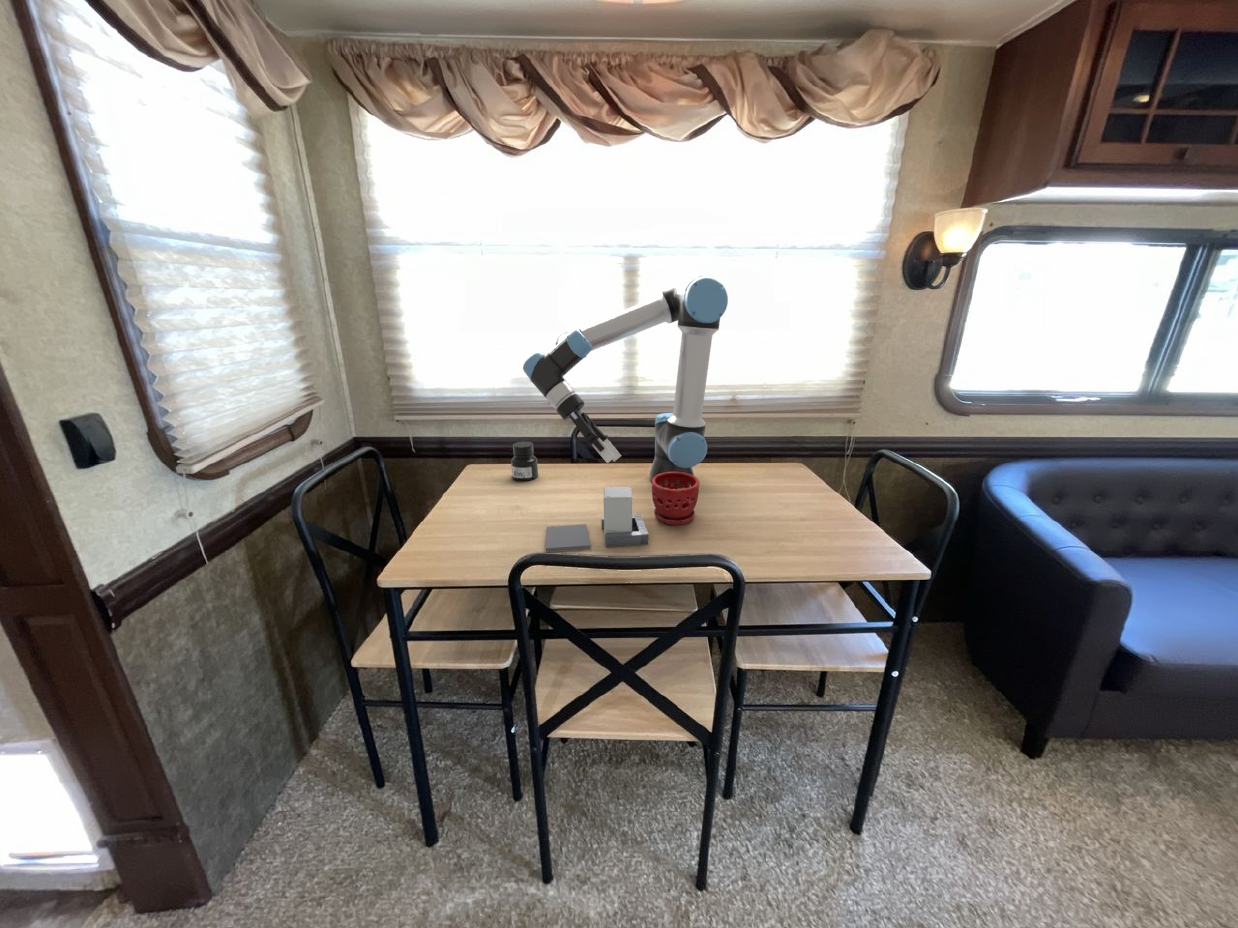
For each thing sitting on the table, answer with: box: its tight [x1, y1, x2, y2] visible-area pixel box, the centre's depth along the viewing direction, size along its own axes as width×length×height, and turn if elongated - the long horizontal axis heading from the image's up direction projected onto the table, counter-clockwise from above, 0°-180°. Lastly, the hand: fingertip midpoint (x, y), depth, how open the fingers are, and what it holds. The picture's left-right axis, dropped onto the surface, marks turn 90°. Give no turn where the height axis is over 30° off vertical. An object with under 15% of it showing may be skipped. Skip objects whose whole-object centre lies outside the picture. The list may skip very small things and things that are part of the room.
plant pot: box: [651, 472, 700, 526], centre depth 138 cm, size 13×13×12 cm
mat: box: [545, 523, 591, 553], centre depth 129 cm, size 11×12×1 cm
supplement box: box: [603, 486, 633, 542], centre depth 129 cm, size 7×7×13 cm
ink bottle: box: [510, 441, 539, 482], centre depth 171 cm, size 10×9×12 cm
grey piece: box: [600, 513, 649, 549], centre depth 130 cm, size 11×12×3 cm
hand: (614, 459), depth 137 cm, fingers open, 13 cm apart
